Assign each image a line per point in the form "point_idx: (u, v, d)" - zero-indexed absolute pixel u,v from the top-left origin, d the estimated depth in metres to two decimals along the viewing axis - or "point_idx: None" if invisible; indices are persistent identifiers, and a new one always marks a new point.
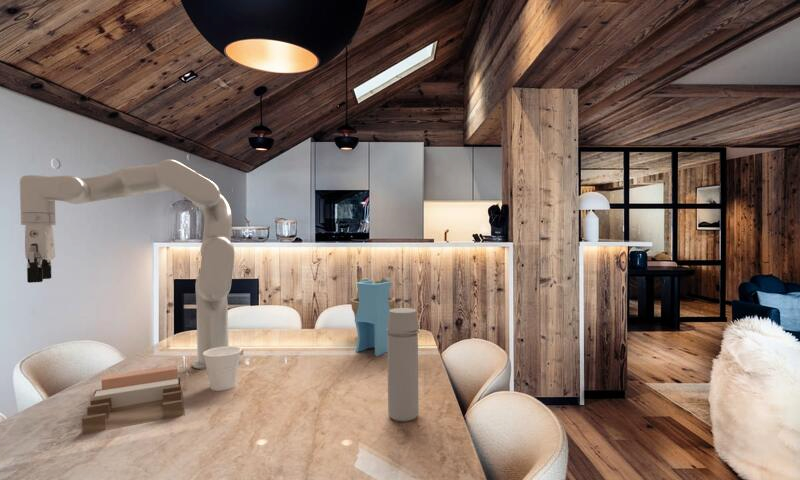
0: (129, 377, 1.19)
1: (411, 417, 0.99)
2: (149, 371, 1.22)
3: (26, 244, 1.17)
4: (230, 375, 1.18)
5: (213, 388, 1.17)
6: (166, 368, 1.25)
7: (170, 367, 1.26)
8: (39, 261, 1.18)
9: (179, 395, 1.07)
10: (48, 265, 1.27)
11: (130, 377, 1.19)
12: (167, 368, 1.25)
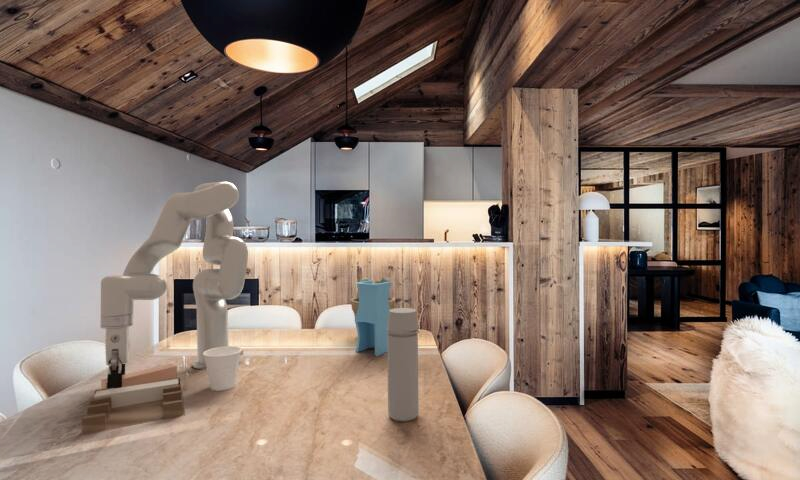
0: (133, 377, 1.19)
1: (411, 417, 0.99)
2: (149, 371, 1.23)
3: (107, 350, 1.14)
4: (230, 375, 1.18)
5: (213, 388, 1.17)
6: (164, 367, 1.27)
7: (167, 365, 1.28)
8: (119, 367, 1.14)
9: (179, 395, 1.07)
10: (122, 364, 1.23)
11: (133, 378, 1.19)
12: (165, 366, 1.27)
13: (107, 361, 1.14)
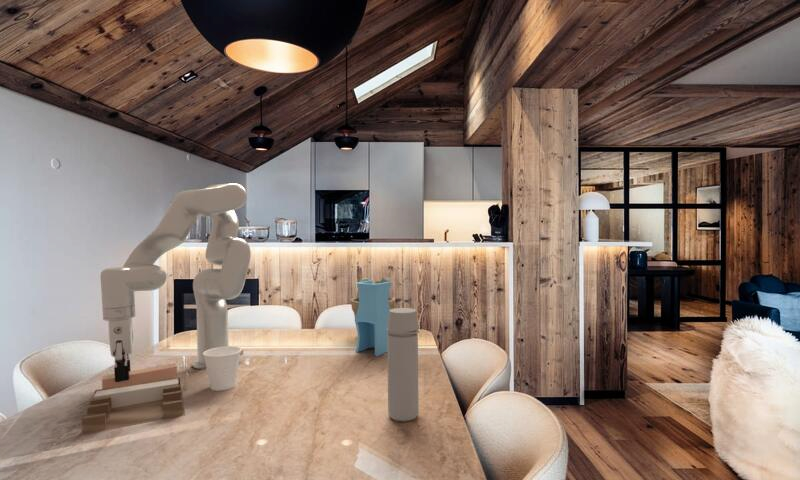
0: (130, 376, 1.19)
1: (411, 417, 0.99)
2: (148, 370, 1.23)
3: (111, 341, 1.14)
4: (230, 375, 1.18)
5: (213, 388, 1.17)
6: (165, 366, 1.27)
7: (168, 365, 1.27)
8: (125, 360, 1.17)
9: (179, 395, 1.07)
10: (127, 359, 1.22)
11: (130, 376, 1.19)
12: (166, 366, 1.27)
13: (112, 352, 1.15)
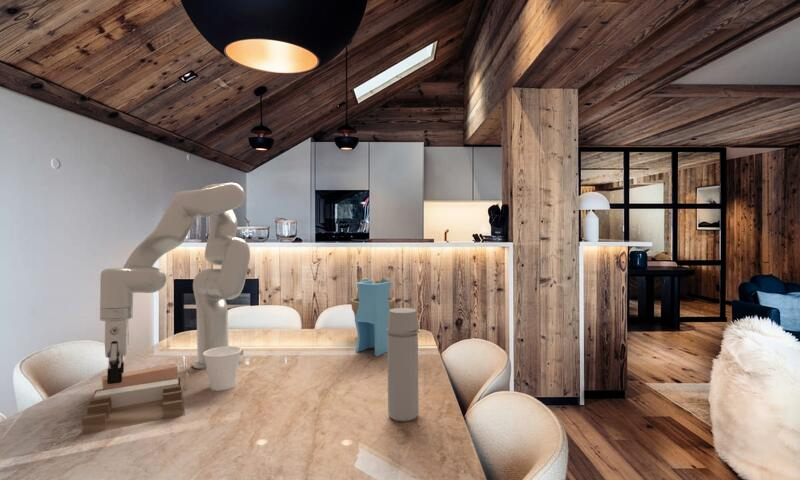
0: (130, 376, 1.19)
1: (411, 417, 0.99)
2: (149, 370, 1.23)
3: (106, 342, 1.13)
4: (230, 375, 1.18)
5: (213, 388, 1.17)
6: (165, 366, 1.26)
7: (168, 365, 1.27)
8: (119, 362, 1.16)
9: (179, 395, 1.07)
10: (121, 361, 1.21)
11: (131, 376, 1.19)
12: (166, 366, 1.26)
13: (106, 353, 1.13)
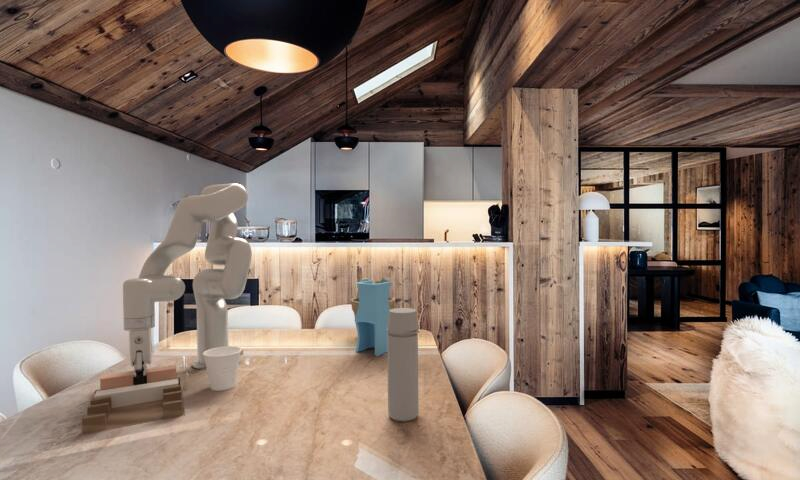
0: (128, 376, 1.18)
1: (411, 417, 0.99)
2: (148, 370, 1.22)
3: (131, 351, 1.16)
4: (230, 375, 1.18)
5: (213, 388, 1.17)
6: (165, 367, 1.25)
7: (169, 366, 1.25)
8: (144, 370, 1.19)
9: (179, 395, 1.07)
10: None
11: (129, 376, 1.19)
12: (166, 367, 1.25)
13: (132, 362, 1.16)
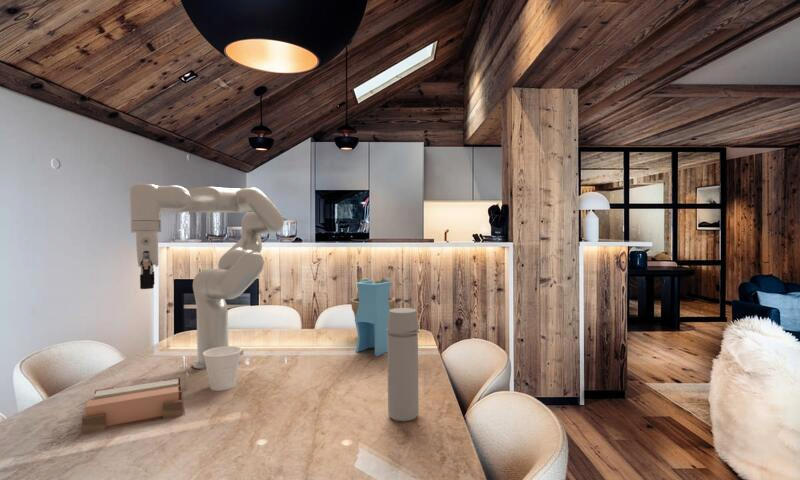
0: (120, 402, 0.97)
1: (411, 417, 0.99)
2: (144, 394, 1.01)
3: (139, 251, 1.20)
4: (230, 375, 1.18)
5: (213, 388, 1.17)
6: (165, 390, 1.03)
7: (170, 389, 1.04)
8: (151, 268, 1.20)
9: (179, 395, 1.07)
10: (152, 271, 1.29)
11: (121, 403, 0.97)
12: (166, 390, 1.03)
13: (139, 262, 1.20)
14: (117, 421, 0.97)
